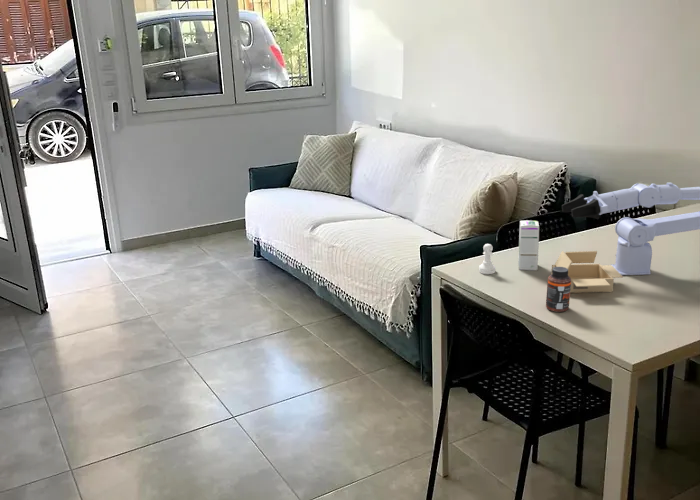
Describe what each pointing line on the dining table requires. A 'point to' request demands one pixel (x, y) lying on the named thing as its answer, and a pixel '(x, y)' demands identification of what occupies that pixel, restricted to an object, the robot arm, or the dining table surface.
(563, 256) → the flap long
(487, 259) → the chess pawn
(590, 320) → the dining table surface
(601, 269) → the carton
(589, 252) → the flap short
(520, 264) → the syrup box
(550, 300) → the supplement bottle
